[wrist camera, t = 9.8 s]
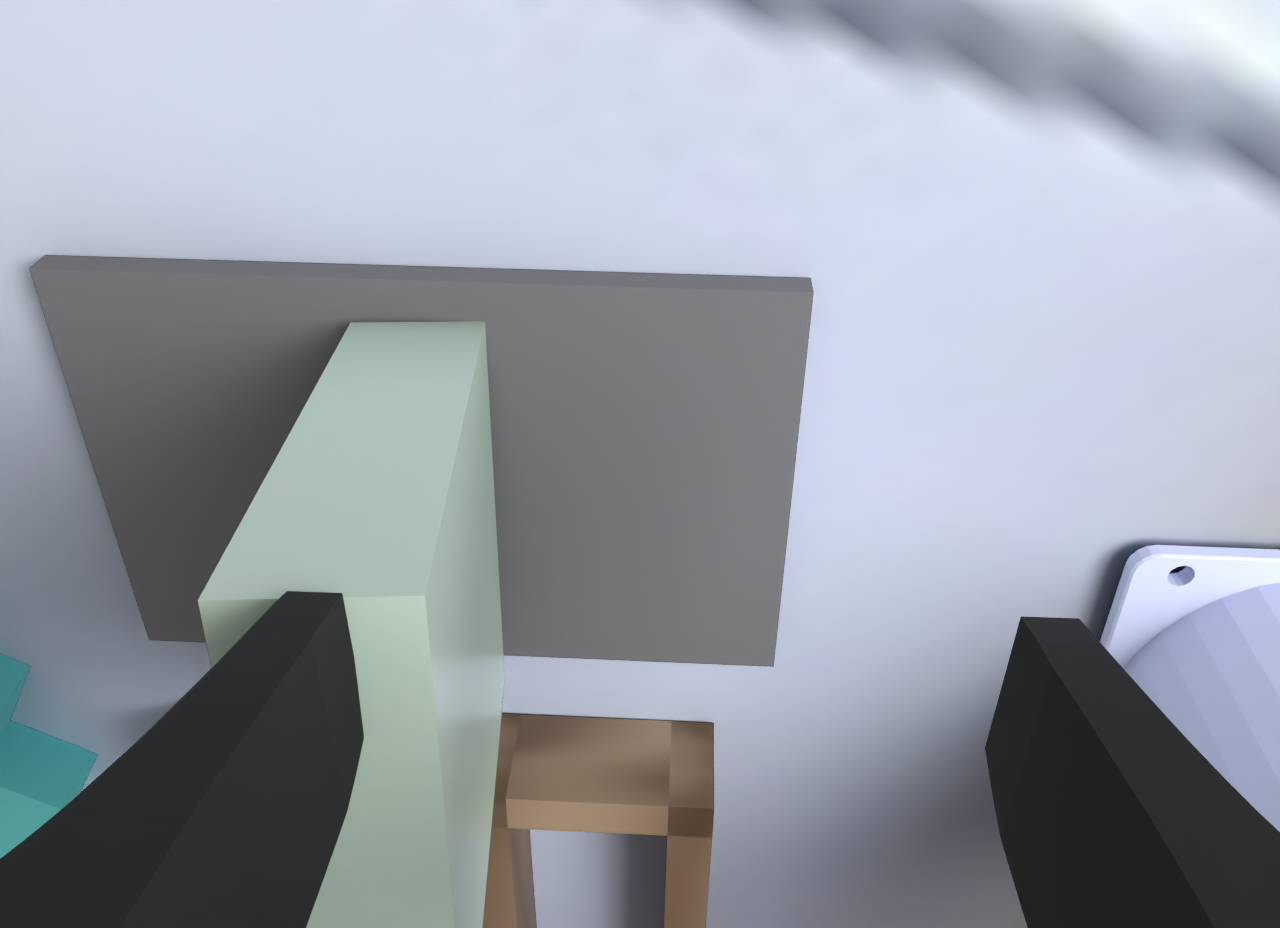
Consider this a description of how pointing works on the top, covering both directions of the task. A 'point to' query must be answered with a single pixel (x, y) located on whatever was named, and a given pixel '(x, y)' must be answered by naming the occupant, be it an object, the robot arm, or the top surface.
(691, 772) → the rack
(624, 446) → the gray mat
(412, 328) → the pale green block
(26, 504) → the top surface
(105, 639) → the top surface
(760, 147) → the top surface
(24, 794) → the alien figure
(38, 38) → the top surface
